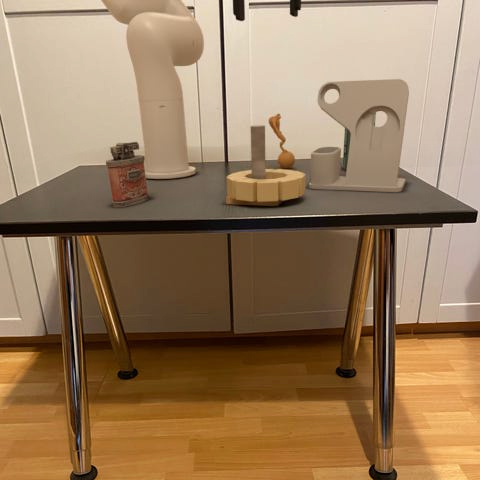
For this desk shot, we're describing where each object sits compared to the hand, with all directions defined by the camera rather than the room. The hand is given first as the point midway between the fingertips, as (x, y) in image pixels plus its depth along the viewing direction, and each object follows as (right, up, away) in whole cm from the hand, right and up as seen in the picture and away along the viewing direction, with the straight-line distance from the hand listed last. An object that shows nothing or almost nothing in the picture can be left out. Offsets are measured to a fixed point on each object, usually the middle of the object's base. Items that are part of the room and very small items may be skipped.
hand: (266, 18), depth 83 cm
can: (+22, -18, +26) cm, 38 cm away
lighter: (-24, -31, +3) cm, 40 cm away
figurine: (+5, -17, +29) cm, 34 cm away
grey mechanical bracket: (+18, -27, +9) cm, 33 cm away
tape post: (-1, -31, +1) cm, 31 cm away
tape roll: (0, -30, 0) cm, 30 cm away
